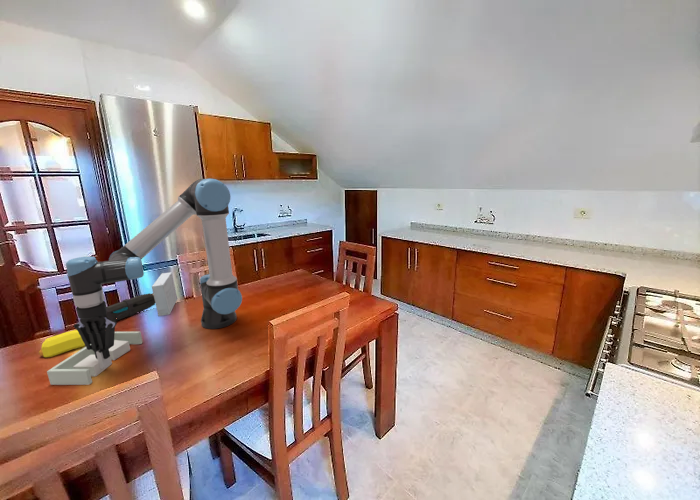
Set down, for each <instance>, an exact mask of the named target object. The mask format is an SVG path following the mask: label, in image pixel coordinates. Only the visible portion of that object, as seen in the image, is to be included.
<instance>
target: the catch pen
mask: <svg viewBox="0 0 700 500" xmlns="http://www.w3.org/2000/svg"><path fill="white" fill-rule="evenodd" d="M114 340H120V341H129V345H142V344H143V337H142V333H141V331H115V335H114ZM90 345H91V344H90ZM89 355H95V352H94V351H93V350H91V349H90V350H88V349H87V348H86V346H84V347H82V348H80V350H78V351H77V352H75V353H73V354H72V355H70V356H68V357H67V358H66V359H64V360H63V361H61V362H59V363H57V364H55V365H54V366H53V367H52V368H50V369H48V370H47V371H46V374H47V377H48V381H49V384H50V386H53V385H54V386H67V385H68V386H70V385H72V386H74V385H75V386H77V385H78V386H81V385H83V386H85V385H86V386H87V385H88V386H89V385H91V384H92V383H93V379H92V376H91V375H90V371H89V369H73V366H75V365H76V364H78V363H79V362H81V361H82V360H83V359H85V358H86V357H88V356H89Z"/></svg>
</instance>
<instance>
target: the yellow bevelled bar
mask: <svg viewBox="0 0 700 500" xmlns="http://www.w3.org/2000/svg"><path fill="white" fill-rule="evenodd" d="M84 347H86V346H85V344H84V342H83V340H82V338H81V336H80V334H79V332H78V331H77V330H76V329H73V330H69V331H66V332H62V333H59V334H56V335H53V336H50V337H48V338H45V340H44V341H43V342H42V344H41V349H40V350H39V351H38V353H37V354H38V355H39V356H41V357H43V358H53V357H55V356H58V355H61V354H63V353H66V352H69V351H72V350H76V349H82V348H84Z"/></svg>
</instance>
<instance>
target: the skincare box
mask: <svg viewBox="0 0 700 500" xmlns="http://www.w3.org/2000/svg"><path fill="white" fill-rule="evenodd" d="M151 289H152V293H153V294H154V299H155V306H156V311H157V315H158V317H162V316H169V315H170V314H171V312H172V310H173V309H174V307H175V304H176V302H177V301H178V295H177V291H176V286H175V281H174V276H173V272H162V273H161V274H160V275H159V277H158V278H157V279H156V280H155V281H154V283H153V284H152V286H151Z"/></svg>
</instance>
